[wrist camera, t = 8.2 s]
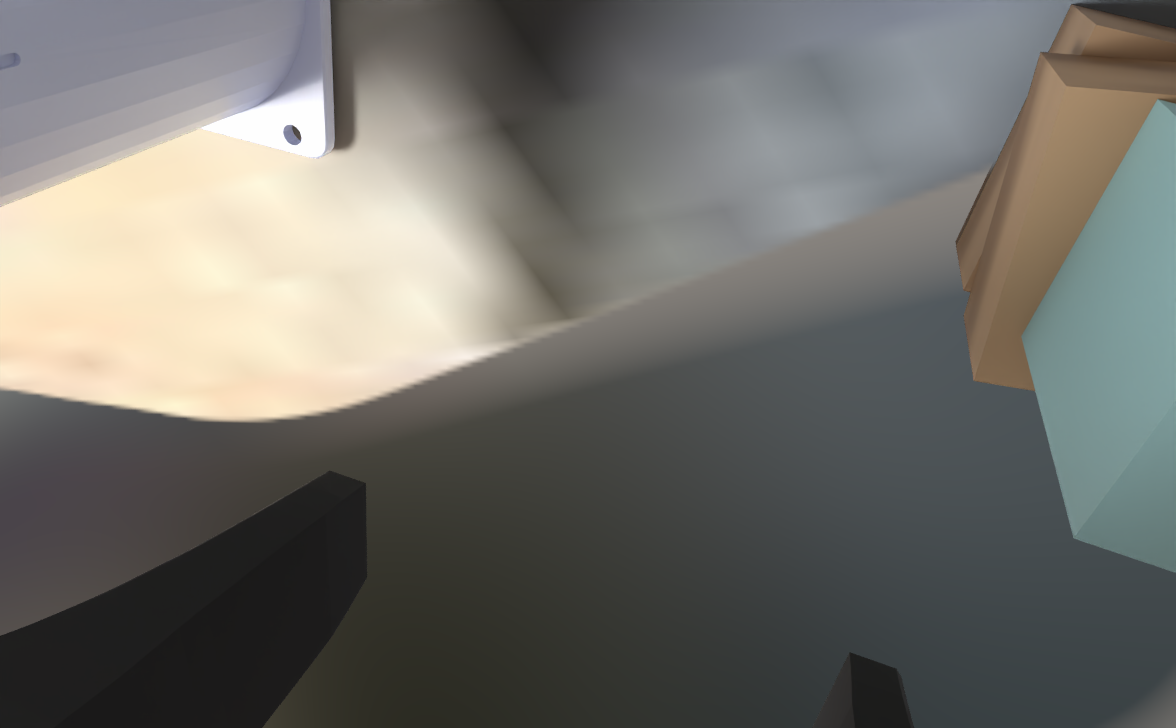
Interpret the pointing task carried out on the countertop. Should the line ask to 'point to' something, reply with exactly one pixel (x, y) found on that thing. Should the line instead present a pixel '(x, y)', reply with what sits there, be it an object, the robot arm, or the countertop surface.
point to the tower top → (1053, 193)
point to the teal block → (1117, 357)
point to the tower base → (1075, 36)
